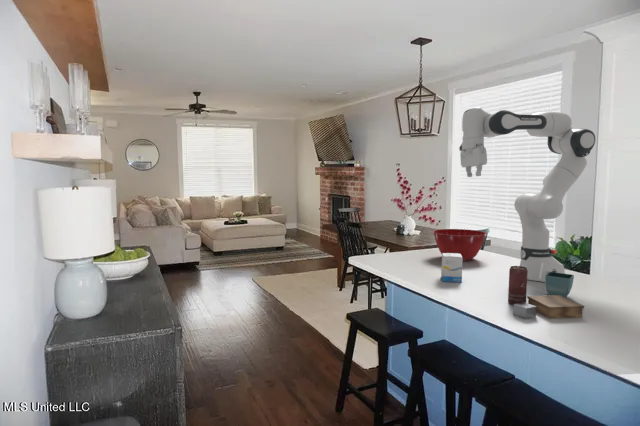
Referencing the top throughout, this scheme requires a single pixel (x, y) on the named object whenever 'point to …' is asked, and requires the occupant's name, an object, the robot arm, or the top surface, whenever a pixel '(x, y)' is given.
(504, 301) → the top surface
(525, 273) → the can
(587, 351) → the top surface
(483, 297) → the top surface
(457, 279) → the ink box
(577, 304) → the stand
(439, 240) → the mixing bowl
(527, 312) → the steel block
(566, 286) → the flower pot
